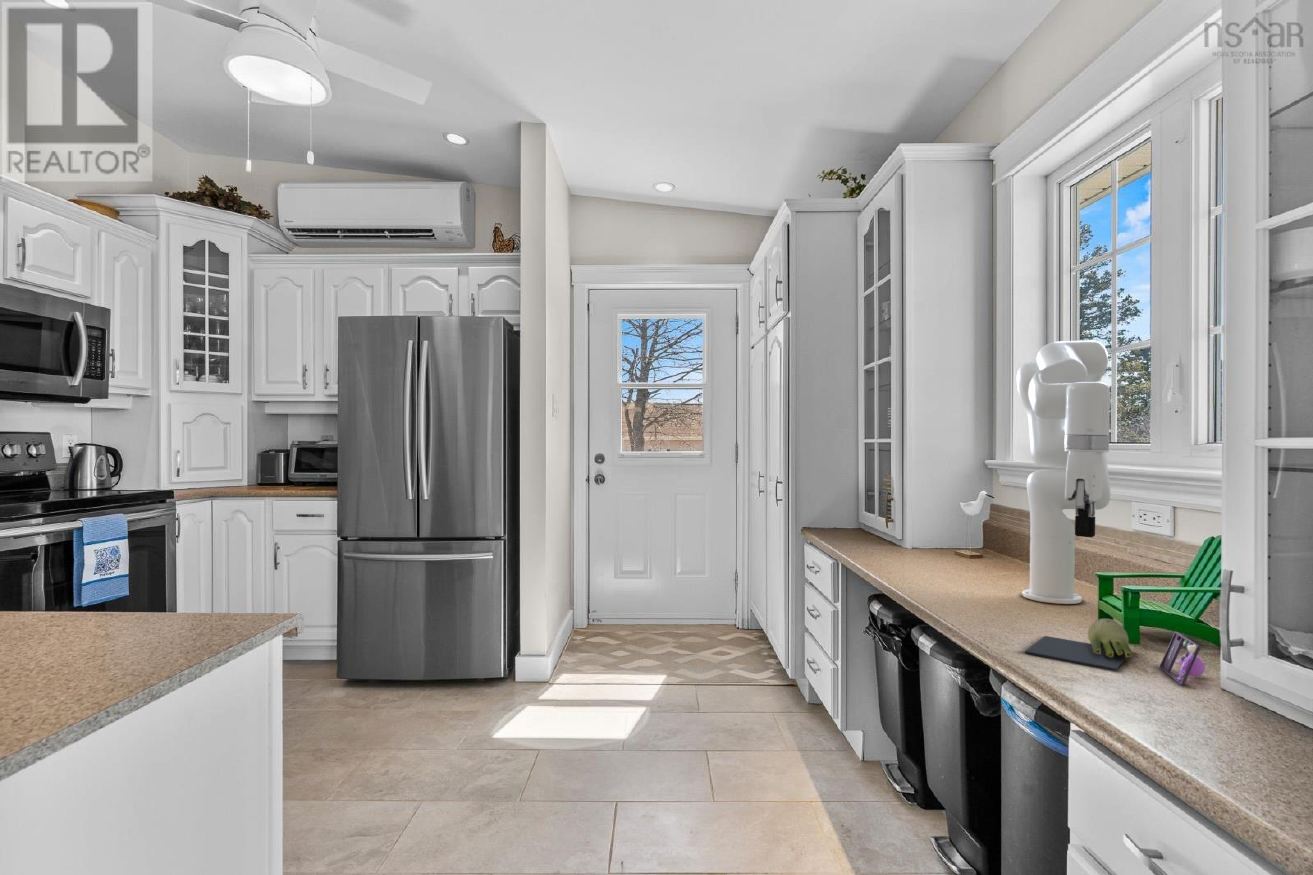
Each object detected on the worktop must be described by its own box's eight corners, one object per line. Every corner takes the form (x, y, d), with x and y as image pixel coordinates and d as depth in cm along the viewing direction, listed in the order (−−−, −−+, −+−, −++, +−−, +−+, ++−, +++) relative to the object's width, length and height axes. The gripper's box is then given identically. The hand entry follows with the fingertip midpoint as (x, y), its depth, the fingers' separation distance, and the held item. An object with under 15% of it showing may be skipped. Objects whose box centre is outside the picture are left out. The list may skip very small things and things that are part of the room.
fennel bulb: (1082, 630, 135) (1090, 655, 124) (1096, 609, 133) (1104, 632, 123) (1115, 646, 133) (1125, 673, 122) (1128, 625, 131) (1140, 650, 121)
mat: (1045, 637, 137) (1045, 635, 137) (1131, 653, 128) (1131, 650, 128) (1024, 653, 127) (1024, 651, 127) (1116, 671, 117) (1116, 668, 117)
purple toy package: (1170, 629, 119) (1193, 643, 110) (1204, 642, 117) (1230, 658, 109) (1154, 665, 120) (1175, 682, 111) (1188, 679, 118) (1212, 697, 109)
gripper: (1073, 443, 149) (1072, 530, 149) (1056, 444, 137) (1054, 538, 138) (1115, 444, 144) (1114, 534, 144) (1100, 445, 132) (1099, 543, 133)
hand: (1084, 536), depth 141 cm, fingers closed
